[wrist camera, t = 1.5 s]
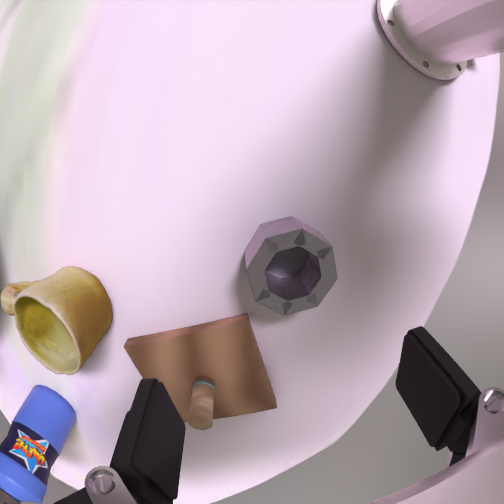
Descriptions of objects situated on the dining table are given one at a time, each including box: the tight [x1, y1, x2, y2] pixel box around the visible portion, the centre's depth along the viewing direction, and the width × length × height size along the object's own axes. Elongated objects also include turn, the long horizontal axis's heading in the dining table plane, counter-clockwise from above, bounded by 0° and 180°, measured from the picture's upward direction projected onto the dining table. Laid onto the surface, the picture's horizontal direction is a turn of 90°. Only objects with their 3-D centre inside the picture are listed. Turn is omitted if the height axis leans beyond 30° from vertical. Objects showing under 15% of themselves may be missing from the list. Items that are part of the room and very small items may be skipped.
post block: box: [124, 314, 277, 430], centre depth 27 cm, size 14×14×8 cm
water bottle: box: [0, 385, 76, 504], centre depth 21 cm, size 9×9×25 cm
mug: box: [1, 266, 112, 375], centre depth 23 cm, size 12×10×10 cm
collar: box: [244, 216, 337, 315], centre depth 24 cm, size 7×7×4 cm
